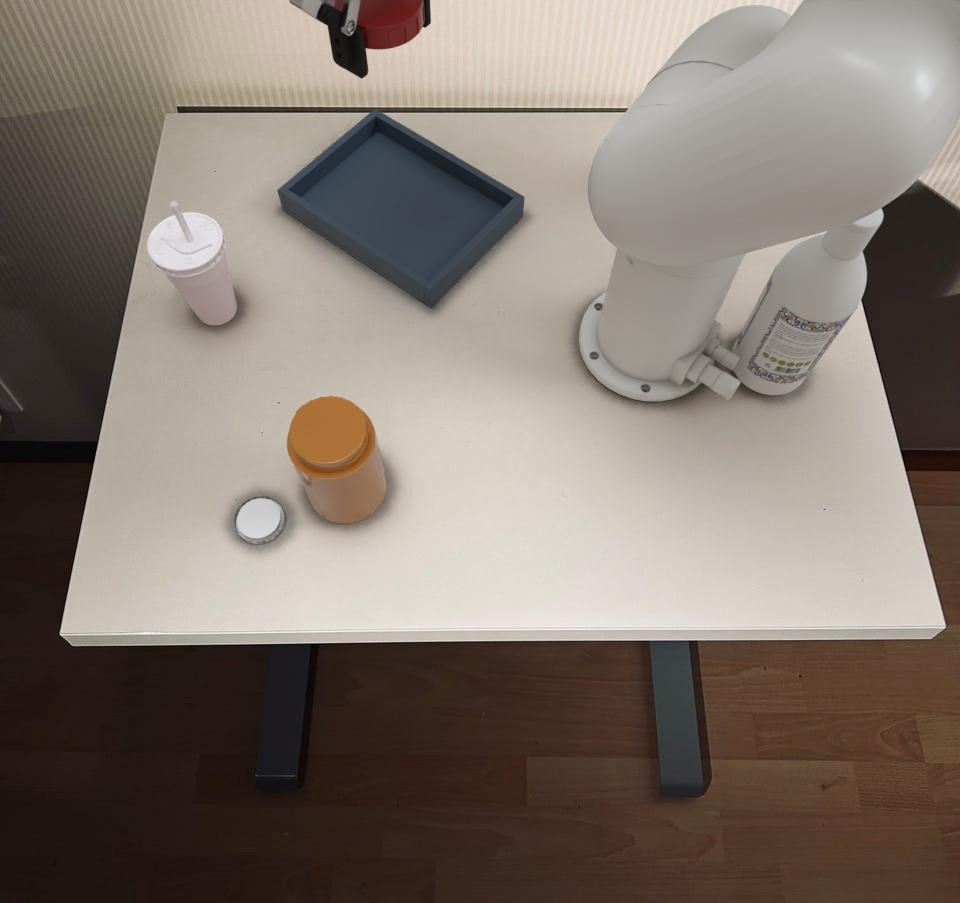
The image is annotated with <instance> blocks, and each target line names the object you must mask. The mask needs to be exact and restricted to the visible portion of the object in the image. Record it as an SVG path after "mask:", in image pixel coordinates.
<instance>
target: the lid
mask: <svg viewBox="0 0 960 903" xmlns="http://www.w3.org/2000/svg"><path fill="white" fill-rule="evenodd" d="M343 5H344V0H336V4H335V8H336V9H338V10H339V11H341V12H342V11H343ZM424 22H425V16H424V6H423V0H361V4H360V9H359V15H358V20H357V25H356V26H358V27H360V28H361V29H362V30H363V32H364V39H365V47H366V50H378V51H379V50H390V49H395V48H398V47H401V46H403V45H406V44H407V43H409V42H411V41H412V40H414V39H415V38H416V37H417V36H418V35H419V34H420V32H421V31H422V29H423V28H424V27H423V23H424Z"/></svg>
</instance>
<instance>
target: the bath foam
mask: <svg viewBox="0 0 960 903" xmlns="http://www.w3.org/2000/svg"><path fill="white" fill-rule="evenodd" d="M883 221H884V211H883V209H882V208H880V209H879V210H877V211H875V212H873V213H871V214H870V215H868V216H866V217H863V218H861V219H859V220H857V221H855V222H852V223H850V224H847V225H844V226H841V227H838V228H835V229H831V230H828V231H825V232H824V233H820V234H817V235H815V236H813V237H810V238H807V239H805V240H803V241H801V242H799V243H798V244H797V245H795V246H793V247H792V248H791V249H790V250H789V251H787V252H786V253H785V254H784V256H783V257H782V258H781V259H780V260H779V262H778V263H777V264H776V266H775V267H774V269H773V271H772V272H771V275H770V277H769V278H768V280H767V283H766V284H765V286H764V288H763V289H762V291H761V293H760V295H759V297H758V299H757V301H756V303H755V304H754V306H753V308H752V310H751V312H750V314H749V315H748V318H747V320H746V321H745V324H744V325H743V327H742V329H741V331H740V333H739V335H738V337H737V339H736V340H735V342H734V345H733V347H732V350H731V352H733V353H735V354H736V355H738V356H740V357H741V360H740V362H739V363H738V365H737V366H736V368H735V369H734V370H733V372H734V374H735V376H736V378H737V379H738V380H740V381H741V383H742V384H743V385H744V386H745V387H747V388H748V389H750V390H752V391H754V392H755V393H758V394H761V395H765V396H782V395H787V394H789V393H791V392H794V391H795V390H797V389H798V388H799V387H801V385H802V384H803V383H804V381H806V378H807V377H808V376H809V375H810V373H811V372H812V371H813V369H814V368H815V367H816V365H817V364H818V362H819V361H820V360H821V358H822V357H823V355H824V354H825V353H826V352H827V350H828V349H829V347H830V346H831V345H832V344H833V342H834V340H835V339H836V338H837V336H838V335H839V333H840V332H841V331H842V330H843V328H844V327H845V325H846V324H847V322H848V321H849V320H850V319H851V317H852V316H853V314H854V313H855V312H856V310H857V308H858V307H859V305H860V303H861V301H862V299H863V296H864V293H865V291H866V286H867V280H868V269H867V263H866V259H865V254H864V250H865V249H866V247H867V245H868V244H869V243H870V241H871V240H872V238H873V237H874V235H875V234H876V232H877V231H878V229H879V228H880V227H881V225H882V223H883Z"/></svg>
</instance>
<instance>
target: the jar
mask: <svg viewBox="0 0 960 903" xmlns="http://www.w3.org/2000/svg"><path fill="white" fill-rule="evenodd" d="M286 449H287V450H286V451H287V453H288V456H289V459H290V461H291V464H292V466H293V467H294V470H295V472H296V474H297V476H298V478H299V480H300V483H301V485H302V487H303V488H304V492H305V493H306V495H307V498H308V500H309V502H310V505H311V506H312V507H313V509H314V510H315V512H316V513H317V514H318V515H319V516H320V517H322V518H323V519H325V520H327V521H329V522H332V523H336V524H342V525H347V524H348V525H349V524H355V523H358V522H362V521H363V520H365V519H367V518H370V517H371V516H372V515H373V514H374V513H375V512H376V511H377V510H378V509H379V508H380V506H381V505H382V503H383V502H384V500H385V497H386V495H387V490H388V489H387V487H388V485H387V483H388V482H387V477H386V473H385V468H384V464H383V460H382V456H381V451H380V447H379V442H378V437H377V433H376V429H375V426H374V423H373V422H372V420H371V418H370V417H369V415H368V414H367V413H366V412H365V411H364V410H362V408H360V407H359V406H358V405H356V403H355V402H353V401H351V400H348V399H346V398H344V397H342V396H341V397H340V396H333V395H328V396H320V397H316V398H314V399H310V400H309V401H307V402H306V403H304V404H302V405H301V406H300V407H299V408H298V409H297V410H296V411H295V414H294V415H293V418H292V420H291V422H290V425H289V430H288V433H287V438H286Z"/></svg>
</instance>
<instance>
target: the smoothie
mask: <svg viewBox="0 0 960 903" xmlns="http://www.w3.org/2000/svg"><path fill="white" fill-rule="evenodd" d="M169 205H170V207H171V210H172V212H173V213H174V214H173V215H171V216H168V217H166V218H165V219H163V220H161V221H160V222H159V223H157V224H156V225H155V227H154V228H152V230H151V231H150V233H149V235H148V238H147V240H146V242H147V243H146V250H147V254H148V256H149V257H150V261H151V263H152V265H153V266H154V267H155V268H156V269H157V271H159V272H161V273H162V274H164V275H165V276H166V278H167V279H168V280H169V281H170V282H171V284H172V285H173V286H174V288H175V289H176V290H177V292H179V294H180V295H181V296H182V298H183V299H184V301H186V303H187V305H188V306H189V307H190V309H192V311H193V313H195V315H196V316H197V317H198V318H199V320H200V321H201V322H202V323H203V324H205V325H208V326H214V327H215V326H222V325H225V324H227V323H228V322H230V321H231V320H233V319H234V317H235V315H236V314H237V311H238V305H237V300H236V295H235V291H234V286H233V281H232V277H231V272H230V268H229V264H228V259H227V254H226V249H227V238H226V235H225V234H224V231H223V230H222V227H221V226H220V224H219V223H218V222H217V221H216V220H215V219H214V218H213V217H211V216H209V215H207V214H205V213H202V212H201V213H200V212H195V211H189V212H188V211H187V212H182V210H181V208H180V205H179V203H178V201H176V200H173V201H171V202H170V204H169Z"/></svg>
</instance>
